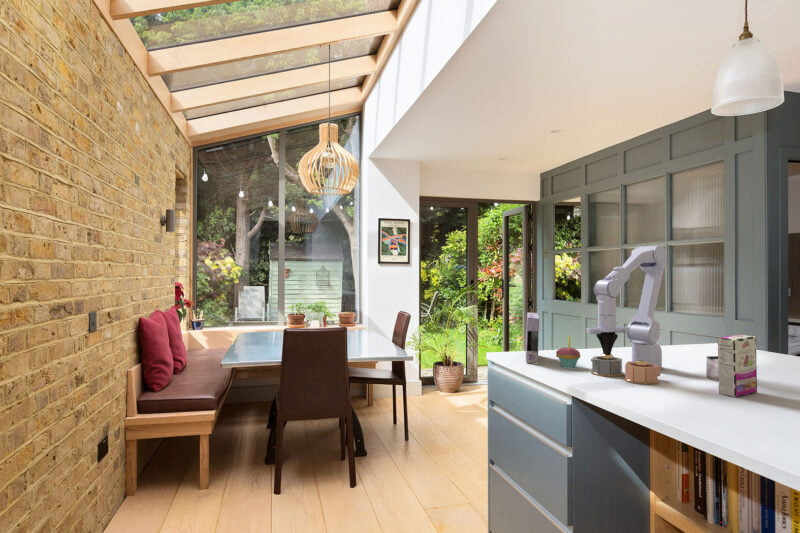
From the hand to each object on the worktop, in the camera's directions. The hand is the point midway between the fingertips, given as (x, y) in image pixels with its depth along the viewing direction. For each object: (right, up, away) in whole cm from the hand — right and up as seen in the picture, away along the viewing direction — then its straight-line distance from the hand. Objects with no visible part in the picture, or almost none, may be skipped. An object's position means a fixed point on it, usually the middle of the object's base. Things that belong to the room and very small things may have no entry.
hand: (607, 354), depth 171 cm
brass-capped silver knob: (0, -5, 0) cm, 5 cm away
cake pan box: (-19, -7, +26) cm, 32 cm away
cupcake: (-10, -7, +11) cm, 16 cm away
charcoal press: (0, -6, 0) cm, 6 cm away
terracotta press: (+7, -7, -11) cm, 14 cm away
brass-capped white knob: (+7, -6, -11) cm, 14 cm away
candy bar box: (+26, -7, -27) cm, 38 cm away
